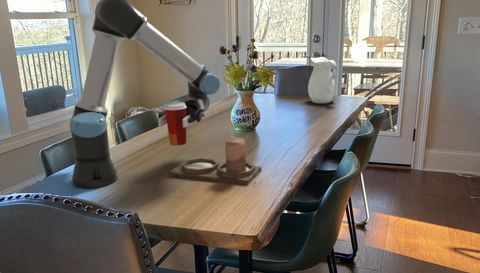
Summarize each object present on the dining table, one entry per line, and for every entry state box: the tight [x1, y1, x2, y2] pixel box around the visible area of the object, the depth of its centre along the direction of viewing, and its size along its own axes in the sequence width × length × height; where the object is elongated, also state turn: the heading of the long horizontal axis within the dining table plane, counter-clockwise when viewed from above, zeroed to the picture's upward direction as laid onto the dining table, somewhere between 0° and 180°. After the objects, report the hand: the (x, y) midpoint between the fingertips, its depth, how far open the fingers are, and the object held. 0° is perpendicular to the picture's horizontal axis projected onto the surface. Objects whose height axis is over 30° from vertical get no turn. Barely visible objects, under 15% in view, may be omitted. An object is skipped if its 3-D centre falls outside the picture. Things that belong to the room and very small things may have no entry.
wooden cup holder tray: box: [168, 137, 262, 186], centre depth 160 cm, size 15×30×13 cm, turn 69°
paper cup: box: [163, 101, 187, 147], centre depth 154 cm, size 8×8×14 cm
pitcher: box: [307, 56, 338, 104], centre depth 278 cm, size 24×17×28 cm
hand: (171, 123), depth 149 cm, fingers closed on paper cup, 8 cm apart
